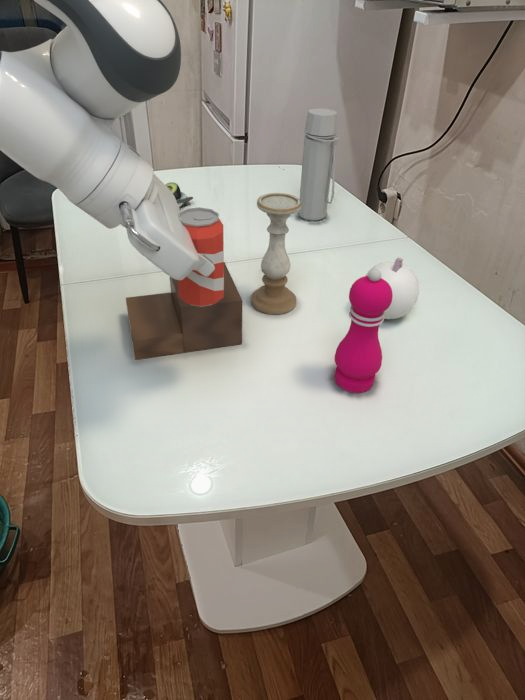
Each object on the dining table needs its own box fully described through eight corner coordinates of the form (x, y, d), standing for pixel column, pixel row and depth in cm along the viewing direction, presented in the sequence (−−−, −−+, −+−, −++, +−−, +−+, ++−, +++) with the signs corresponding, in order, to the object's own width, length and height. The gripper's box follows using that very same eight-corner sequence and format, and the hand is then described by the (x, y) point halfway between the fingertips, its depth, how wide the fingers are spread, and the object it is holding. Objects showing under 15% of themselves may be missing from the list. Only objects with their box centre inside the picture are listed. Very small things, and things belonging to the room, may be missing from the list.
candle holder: (262, 319, 94) (267, 214, 81) (243, 295, 100) (245, 194, 87) (304, 309, 97) (315, 206, 84) (283, 286, 103) (290, 188, 90)
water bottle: (291, 216, 130) (299, 111, 115) (309, 208, 135) (319, 105, 119) (320, 227, 125) (332, 119, 110) (338, 218, 130) (352, 113, 115)
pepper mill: (356, 402, 77) (380, 289, 65) (321, 377, 82) (337, 267, 69) (386, 382, 81) (413, 272, 69) (351, 359, 85) (371, 251, 73)
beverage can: (230, 305, 70) (230, 223, 62) (184, 313, 68) (178, 229, 60) (217, 283, 74) (216, 203, 67) (174, 289, 72) (167, 209, 65)
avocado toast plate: (163, 229, 122) (161, 210, 119) (99, 216, 126) (96, 198, 123) (199, 200, 136) (198, 183, 133) (140, 189, 140) (138, 172, 137)
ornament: (409, 334, 92) (425, 276, 84) (353, 323, 94) (363, 265, 86) (413, 304, 100) (428, 249, 92) (361, 295, 102) (371, 239, 94)
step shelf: (135, 360, 83) (128, 314, 78) (128, 316, 93) (121, 272, 87) (242, 344, 88) (242, 300, 82) (224, 303, 97) (224, 261, 92)
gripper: (145, 204, 50) (240, 279, 59) (127, 140, 65) (205, 207, 74) (105, 249, 52) (203, 316, 60) (97, 177, 67) (176, 238, 75)
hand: (204, 256), depth 67 cm, fingers closed on beverage can, 6 cm apart
